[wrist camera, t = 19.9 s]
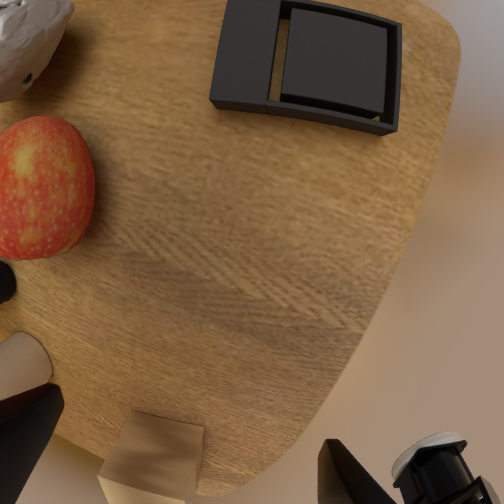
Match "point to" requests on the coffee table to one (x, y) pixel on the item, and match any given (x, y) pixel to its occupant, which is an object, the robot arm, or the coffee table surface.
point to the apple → (43, 188)
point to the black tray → (262, 58)
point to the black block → (335, 64)
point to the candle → (22, 365)
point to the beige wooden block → (153, 462)
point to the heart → (28, 41)
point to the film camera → (6, 282)
